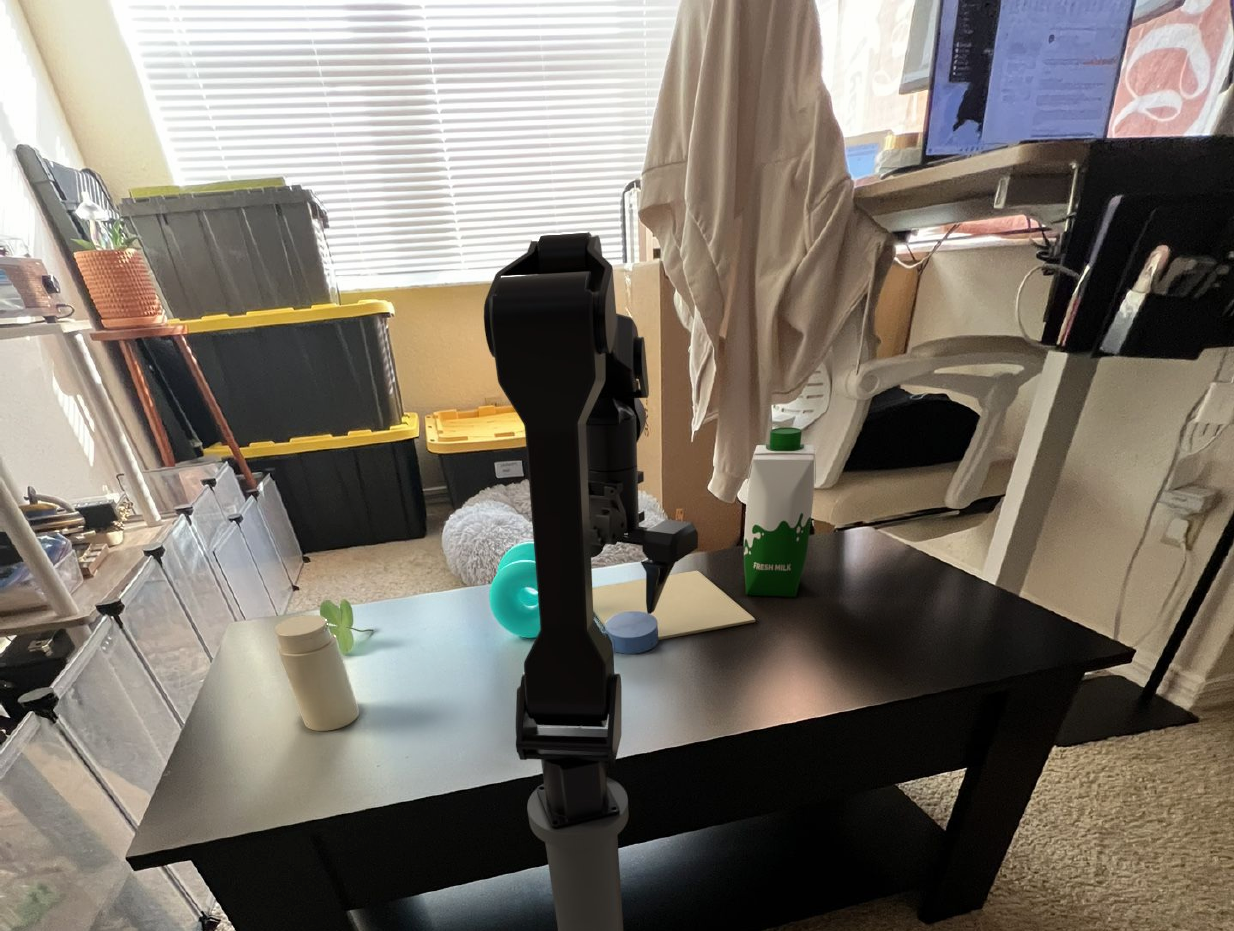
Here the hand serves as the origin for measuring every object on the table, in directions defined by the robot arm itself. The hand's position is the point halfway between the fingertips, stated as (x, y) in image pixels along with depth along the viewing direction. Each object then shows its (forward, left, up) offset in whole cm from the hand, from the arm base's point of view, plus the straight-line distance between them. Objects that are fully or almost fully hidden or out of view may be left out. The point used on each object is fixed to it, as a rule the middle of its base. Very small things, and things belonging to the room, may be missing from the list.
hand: (617, 606), depth 87 cm
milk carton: (+11, -27, -6) cm, 30 cm away
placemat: (+11, -10, -6) cm, 16 cm away
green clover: (+16, +32, -6) cm, 36 cm away
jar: (-3, +35, -6) cm, 36 cm away
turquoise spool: (+12, +8, -6) cm, 16 cm away
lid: (+2, -2, -4) cm, 5 cm away
